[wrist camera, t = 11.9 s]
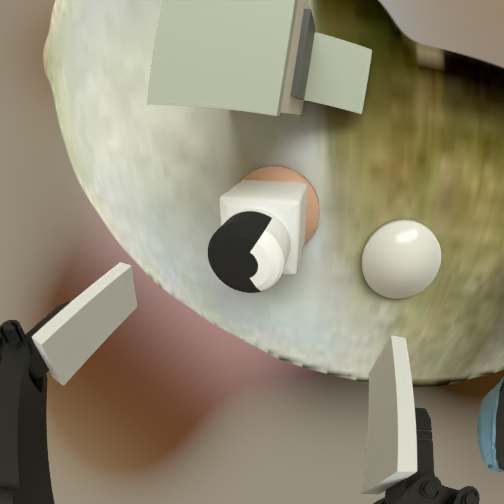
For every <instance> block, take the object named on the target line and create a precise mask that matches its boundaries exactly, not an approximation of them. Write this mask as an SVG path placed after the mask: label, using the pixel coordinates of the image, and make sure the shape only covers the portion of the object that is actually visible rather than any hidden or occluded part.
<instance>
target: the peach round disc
mask: <svg viewBox="0 0 504 504" xmlns="http://www.w3.org/2000/svg"><path fill="white" fill-rule="evenodd" d="M242 180H259V181H280V182H296V183H305V184H306V185H307V206H306V226H305V243H306V242H307V241H308V240H309V239H310V238H311V236H312V235H313V233H314V231H315V229H316V227H317V224H318V219H319V210H320V208H319V201H318V197H317V195H316V192H315V190H314V188H313V187H312V185H311V184H310V183H309V181H308V180H307V179H306V178H305V177H303V176H302V175H301V174H299V173H298V172H296V171H294V170H292V169H290V168H286V167H283V166H265V167H261V168H259V169H256V170H254V171H252V172H251V173H249V174H248V175H246V176H245V177H244V178H243V179H242ZM242 180H241V181H242ZM241 181H240V182H241ZM240 182H239V183H240ZM305 243H304V244H305Z"/></svg>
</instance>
